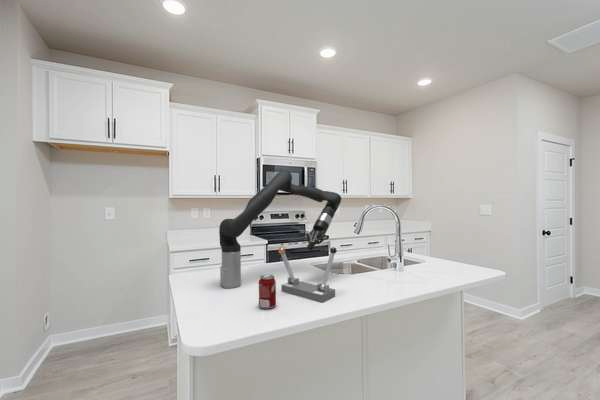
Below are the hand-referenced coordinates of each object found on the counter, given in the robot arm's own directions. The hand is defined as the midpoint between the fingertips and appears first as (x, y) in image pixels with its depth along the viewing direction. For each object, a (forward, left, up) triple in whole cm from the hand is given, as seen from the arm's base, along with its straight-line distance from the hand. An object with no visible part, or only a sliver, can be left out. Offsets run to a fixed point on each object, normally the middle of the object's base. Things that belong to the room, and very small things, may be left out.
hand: (309, 249), depth 142 cm
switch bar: (-10, -11, -17) cm, 23 cm away
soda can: (-32, -14, -18) cm, 39 cm away
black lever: (-8, -20, -14) cm, 25 cm away
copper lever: (-11, -3, -14) cm, 18 cm away
